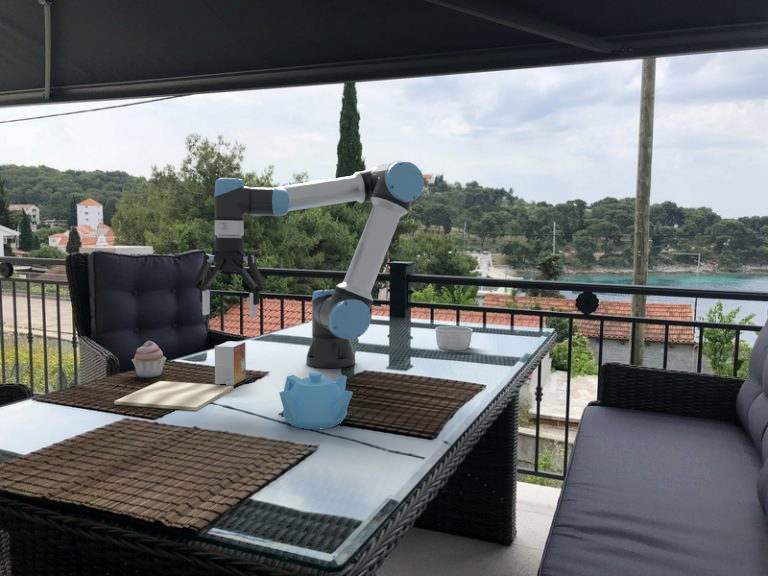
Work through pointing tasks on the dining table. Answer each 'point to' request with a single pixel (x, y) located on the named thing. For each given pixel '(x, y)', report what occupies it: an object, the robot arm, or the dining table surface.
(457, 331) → the ramekin
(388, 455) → the dining table surface
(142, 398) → the birch board
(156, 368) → the cupcake
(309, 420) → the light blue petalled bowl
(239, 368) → the small box
